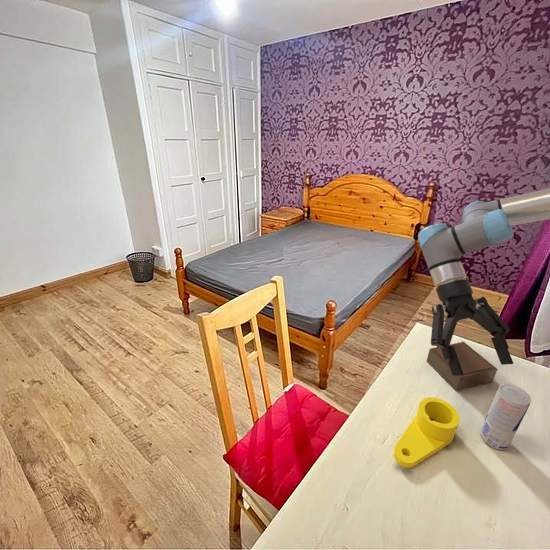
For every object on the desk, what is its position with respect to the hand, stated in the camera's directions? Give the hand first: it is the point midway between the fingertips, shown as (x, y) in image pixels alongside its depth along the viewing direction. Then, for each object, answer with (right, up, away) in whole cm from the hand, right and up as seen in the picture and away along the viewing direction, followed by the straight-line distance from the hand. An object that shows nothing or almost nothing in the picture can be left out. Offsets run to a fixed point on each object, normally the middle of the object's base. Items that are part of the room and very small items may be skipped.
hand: (483, 369), depth 71 cm
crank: (-14, -17, 0) cm, 22 cm away
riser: (+5, -6, +19) cm, 20 cm away
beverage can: (+2, -16, 0) cm, 16 cm away
